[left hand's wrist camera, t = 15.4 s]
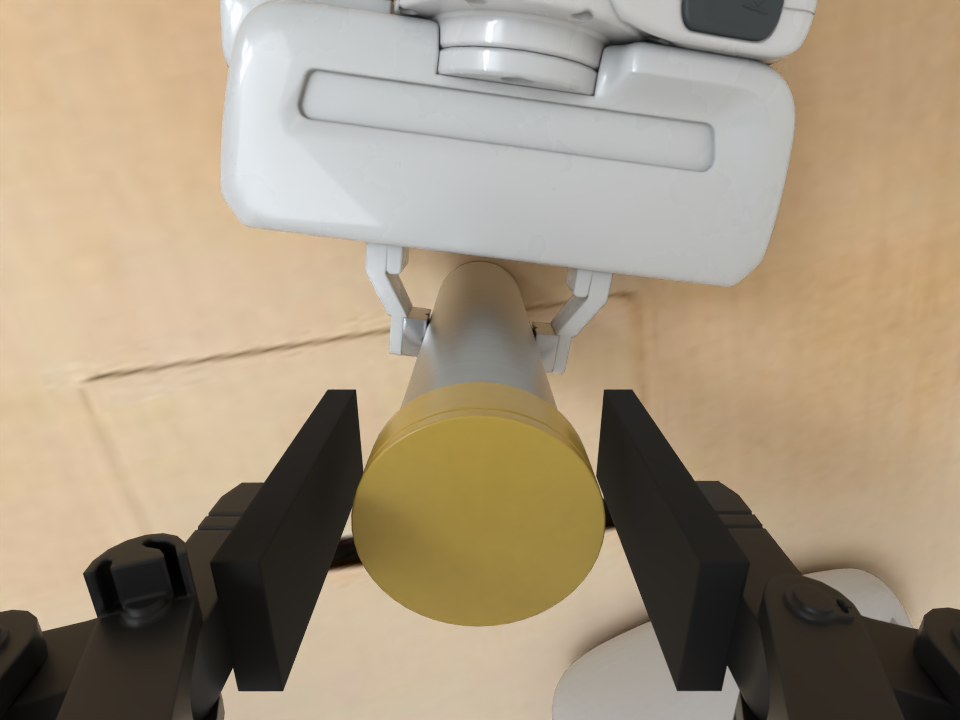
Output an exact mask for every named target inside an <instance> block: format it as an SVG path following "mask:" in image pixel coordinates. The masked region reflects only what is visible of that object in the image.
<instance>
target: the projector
mask: <svg viewBox="0 0 960 720" xmlns="http://www.w3.org/2000/svg"><path fill="white" fill-rule="evenodd" d="M803 576H806V577H809V578H812V579H815V580H818V581H821V582H823V583H825V584H827V585H829V586H830V587H832V588H834V589H836V590H838V591H839V592H841V593H842V594H843V595H844V596H845V597H846V598H848V599H849V600H850V601H851V602H852V603H853V604H854V605H855V606H856V608H857V609H858V611H859V612H860V614H861V615H862V616H865V617H868V618H872V619H876V620H880V621H884V622H889V623H893V624H897V625H901V626H906V627H910V628H913V627H912V624H911V622H910V620H909V618H908V616H907V614H906V612H905V610H904V608H903V606H902V605H901V603H900V601H899V600H898V598H897V597H896V595H895V594H894V593H893V591H892V590H891V589H890V588H889V587H888V586H887V585H886V584H885V583H884V582H882V581H881V580H880V579H878V578H877V577H875V576H873V575H872V574H870V573H868V572H866V571H863V570H859V569H853V568H847V569H834V570H827V571H821V572H814V573H809V574H804V575H803ZM739 691H740V690H739V688H738V686H737V684H736V682H735V680H734V678H733V676H732V674H731V672H730V670H729V668H728V666H727V669H726V674H725V678H724V682H723V687H722V691H677V690H676V687H675V684H674V682H673V679H672V676H671V674H670V671H669V669H668V666H667V663H666V661H665V658H664V655H663V653H662V650H661V647H660V645H659V642H658V639H657V637H656V634H655V631H654V629H653V626H652V623H651V621H650V622H647V623H645V624H642V625H640V626H638V627H635V628H633V629H631V630H629V631H627V632H624V633H622V634H620V635H618V636H616V637H614V638H612V639H610V640H608V641H606V642H604V643H602V644H600V645H598V646H597V647H595V648H594V649H592V650H590V651H589V652H587V653H585V654H584V655H583V656H581V657H580V658H579V659H578V660H576V661H575V662H574V663H573V664H572V665H571V666H570V667H569V668H568V669H567V670H566V672H565V673H564V674H563V675H562V677H561V679H560V681H559V683H558V685H557V687H556V690H555V693H554V697H553V704H552V720H733V716H734V711H735V707H736V703H737V699H738V695H739Z"/></svg>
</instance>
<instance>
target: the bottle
mask: <svg viewBox="0 0 960 720" xmlns="http://www.w3.org/2000/svg"><path fill="white" fill-rule="evenodd" d="M465 382H491V383H499V384H504V385H510V386H513V387H516V388H519V389H522V390H525V391H527V392H529V393H531V394H534V395H536V396H538V397H540V398H541V399H543V400H544V401H546V402H548V403H549V404H551V405H552V406H553V407H554V408H555V409H557V407H556V403H555V400H554V397H553V394H552V391H551V388H550V385H549V382H548V378H547V375H546V372H545V369H544V366H543V363H542V360H541V356H540V353H539V350H538V347H537V344H536V341H535V338H534V334H533V331H532V328H531V325H530V322H529V319H528V316H527V313H526V309H525V306H524V303H523V300H522V297H521V294H520V291H519V287H518V285H517V283H516V282H515V280H514V278H513V277H512V276H511V275H510V274H509V273H508V272H507V271H506V270H504V269H503V268H502V267H500V266H498V265H496V264H493V263H489V262H482V261H478V262H470V263H467V264H464V265H461V266H459V267H458V268H456V269H455V270H453V271H452V272H451V273H450V274H449V275H448V276H447V277H446V279H445V280H444V282H443V284H442V286H441V288H440V291H439V294H438V297H437V300H436V303H435V306H434V309H433V312H432V315H431V318H430V321H429V324H428V327H427V330H426V333H425V336H424V339H423V342H422V345H421V348H420V351H419V354H418V358H417V361H416V364H415V367H414V370H413V373H412V376H411V379H410V382H409V385H408V388H407V391H406V394H405V397H404V400H403V403H402V406H401V409H402V408H403V407H404V406H405V405H407V404H408V403H410V402H411V401H413V400H414V399H416V398H418V397H419V396H421V395H423V394H426V393H428V392H430V391H432V390H435V389H438V388H441V387H444V386H448V385H453V384H458V383H465Z"/></svg>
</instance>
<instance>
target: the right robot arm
mask: <svg viewBox="0 0 960 720" xmlns="http://www.w3.org/2000/svg"><path fill="white" fill-rule="evenodd" d="M393 3H394V0H220V16H221V42H222V49H223V53H224V57H225V60H226V63H227V65H228V68H229V70H228V77H227V84H226V93H225V102H224V111H223V123H222V137H221V169H220V180H221V192H222V196H223V198H224V200H225V202H226V203H227V204H228V206H229V207H230V209H231V210H232V211H233V213H234V214H235V216H236V217H237V218H238V219H239V221H240V222H241V223H242V224H243V225H244V226H247V227H250V228H257V229H265V230H273V231H281V232H289V233H297V234H305V235H313V236H321V237H329V238H337V239H345V240H353V241H361V242H367V249H366V270H365V271H366V273H367V275H368V277H369V279H370V281H371V283H372V285H373V287H374V289H375V291H376V293H377V294H378V296H379V298H380V300H381V302H382V304H383V306H384V308H385V310H386V312H387V314H388V315H391V327H390V343H389V352H390V354H394V355H400V356H401V355H405V356H414V357H418V354H419V351H420V348H421V345H422V342H423V339H424V336H425V333H426V330H427V327H428V324H429V321H430V312H431V309H425V308H418V307H412V304H411V301H410V299H409V297H408V295H407V293H406V290H405V288H404V286H403V284H402V282H401V279H400V277H399V275H398V274H399V273H401V271H402V270H403V269H404V268H405V266H406V265H407V264H408V257H409V248H417V249H425V250H433V251H441V252H449V253H457V254H465V255H473V256H481V257H489V258H497V259H505V260H513V261H521V262H529V263H537V264H545V265H553V266H561V267H568V271H567V277H566V284H567V285H568V287H569V288H570V289H571V291H572V292H573V293H574V294H573V295H572V296H571V298H570V299H569V300H568V301H567V303H566V304H565V305H564V306H563V308H562V309H561V310H560V311H559V313H558V314H557V315H556V316H555V318H554V319H553V320H552V321H551V323H541V322H532V331H533V334H534V338H535V341H536V344H537V347H538V350H539V353H540V356H541V360H542V363H543V366H544V369H545V372H548V373H557V374H563V373H564V371H565V368H566V363H567V358H568V353H569V348H570V342H571V337H575V336H576V335H577V334H578V333H579V332H580V331H581V330H582V329H583V327H584V326H585V325H586V324H587V323H588V322H589V321H590V320H591V319H592V317H593V316H594V315H595V314H596V313H597V312H598V311H599V310H600V309H601V307H602V306H603V305H604V304H605V303H606V302H607V299H608V294H609V290H610V285H611V281H612V276H613V273H617V274H625V275H633V276H641V277H649V278H657V279H665V280H673V281H681V282H689V283H696V284H704V285H713V286H721V287H732V286H735V285H736V284H737V283H739V282H740V281H741V280H743V279H744V278H745V277H746V276H747V275H748V274H750V273H751V272H752V271H753V270H754V269H755V268H756V267H757V266H758V265H759V264H760V263H761V261H762V259H763V257H764V255H765V253H766V250H767V247H768V244H769V241H770V238H771V235H772V232H773V228H774V225H775V221H776V218H777V214H778V210H779V206H780V202H781V198H782V195H783V190H784V186H785V181H786V176H787V172H788V167H789V162H790V157H791V152H792V146H793V140H794V132H795V105H794V99H793V96H792V92H791V90H790V88H789V86H788V84H787V82H786V81H785V79H784V78H783V77H782V76H781V75H780V74H779V73H778V72H777V71H776V70H775V69H773V68H772V67H770V66H769V65H771V64H773V63H775V62H777V61H779V60H781V59H783V58H785V57H787V56H789V55H791V54H793V53H794V52H795V51H797V50H798V49H799V48H800V47H801V45H802V44H803V42H804V41H805V39H806V37H807V35H808V32H809V30H810V27H811V24H812V21H813V18H814V14H815V11H816V6H817V0H395V3H394V4H393ZM394 14H395V15H394Z"/></svg>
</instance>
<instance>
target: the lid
mask: <svg viewBox="0 0 960 720" xmlns="http://www.w3.org/2000/svg"><path fill="white" fill-rule="evenodd" d="M351 518H352V533H353V539H354V544H355V547H356V549H357V552H358V555H359V558H360V559H361V561H362V563H363V565H364V567H365V569H366V570H367V572H368V573H369V575H370V576H371V577H372V579H373V580H374V581H375V582H376V583H377V585H378V586H379V587H380V588H381V589H382V590H383V591H384V592H385V593H387V594H388V595H389V596H390V597H391V598H393V599H394V600H395V601H397V602H398V603H400V604H401V605H403V606H404V607H406V608H408V609H410V610H412V611H414V612H416V613H418V614H420V615H423V616H425V617H428V618H431V619H433V620H437V621H441V622H445V623H449V624H456V625H462V626H495V625H501V624H508V623H512V622H516V621H520V620H524V619H526V618H529V617H532V616H534V615H537V614H539V613H541V612H543V611H545V610H547V609H549V608H551V607H553V606H554V605H556V604H557V603H559V602H560V601H562V600H563V599H564V598H566V597H567V596H568V595H569V594H570V593H572V592H573V591H574V590H575V589H576V588H577V587H578V586H579V585H580V584H581V582H582V581H583V580H584V579H585V577H586V576H587V575H588V573H589V572H590V570H591V569H592V567H593V565H594V563H595V561H596V559H597V558H598V555H599V552H600V549H601V546H602V543H603V538H604V533H605V509H604V502H603V498H602V495H601V492H600V489H599V486H598V483H597V480H596V478H595V475H594V472H593V470H592V467H591V464H590V462H589V459H588V456H587V453H586V451H585V448H584V446H583V444H582V442H581V439H580V437H579V435H578V434H577V432H576V431H575V429H574V428H573V426H572V425H571V424H570V422H569V421H568V420H567V419H566V418H565V417H564V416H563V415H562V414H561V413H560V412H559V411H558V410H557V409H555V408H554V407H553V406H552V405H551V404H549V403H548V402H546V401H544V400H543V399H541V398H540V397H538V396H536V395H534V394H531V393H529V392H527V391H525V390H522V389H519V388H516V387H513V386H510V385H504V384H499V383H491V382H465V383H458V384H453V385H448V386H444V387H441V388H438V389H435V390H432V391H430V392H428V393H426V394H423V395H421V396H419V397H418V398H416V399H414V400H413V401H411V402H410V403H408V404H407V405H405V406H404V407H403V408H402V409H400V410H399V411H398V412H397V413H396V414H395V415H394V416H393V417H392V418H391V419H390V420H389V421H388V423H387V424H386V425H385V427H384V428H383V430H382V431H381V433H380V434H379V436H378V438H377V440H376V442H375V444H374V446H373V449H372V451H371V454H370V456H369V459H368V462H367V464H366V467H365V469H364V472H363V475H362V477H361V480H360V483H359V485H358V488H357V491H356V494H355V498H354V501H353V508H352V515H351Z"/></svg>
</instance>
